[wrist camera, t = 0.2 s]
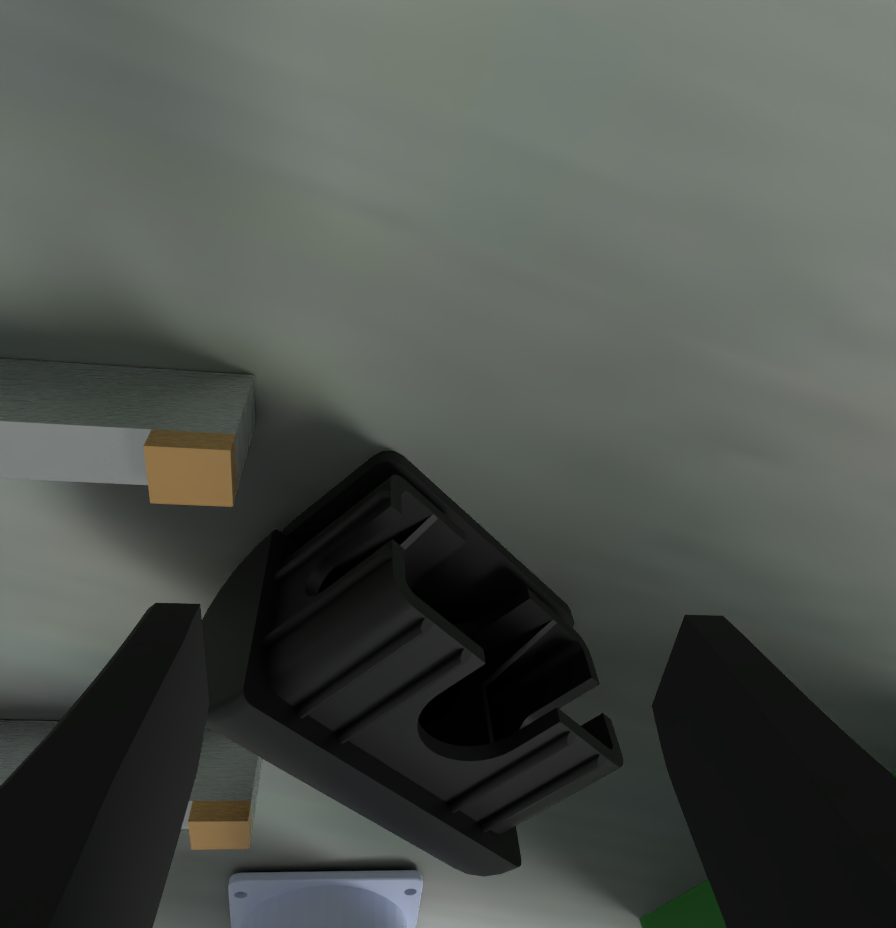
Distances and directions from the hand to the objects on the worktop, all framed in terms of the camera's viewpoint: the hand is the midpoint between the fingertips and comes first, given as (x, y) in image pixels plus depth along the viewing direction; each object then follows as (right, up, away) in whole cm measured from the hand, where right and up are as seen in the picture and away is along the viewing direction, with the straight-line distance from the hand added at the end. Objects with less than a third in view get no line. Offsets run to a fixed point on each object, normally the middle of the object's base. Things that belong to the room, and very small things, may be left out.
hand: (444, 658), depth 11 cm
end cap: (-1, -1, +13) cm, 13 cm away
